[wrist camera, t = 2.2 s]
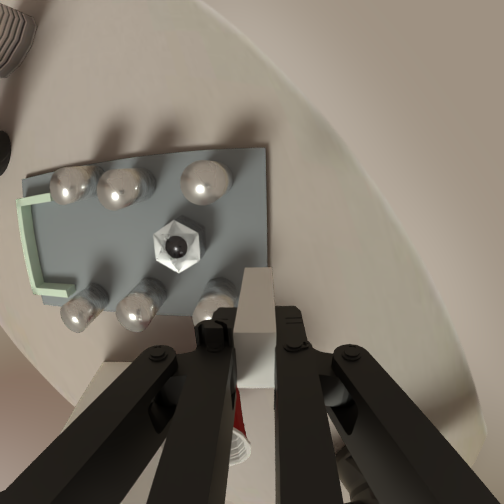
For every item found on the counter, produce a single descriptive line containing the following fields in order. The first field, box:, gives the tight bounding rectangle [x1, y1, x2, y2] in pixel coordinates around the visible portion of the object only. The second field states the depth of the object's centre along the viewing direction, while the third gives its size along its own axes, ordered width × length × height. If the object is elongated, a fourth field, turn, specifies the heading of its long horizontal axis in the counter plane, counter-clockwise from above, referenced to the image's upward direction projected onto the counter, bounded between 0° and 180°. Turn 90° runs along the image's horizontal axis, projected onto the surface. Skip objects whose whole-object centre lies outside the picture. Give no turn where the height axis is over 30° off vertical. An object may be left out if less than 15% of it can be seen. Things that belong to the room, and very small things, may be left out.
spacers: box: [50, 160, 238, 333], centre depth 27 cm, size 18×20×6 cm
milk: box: [60, 362, 163, 504], centre depth 25 cm, size 12×12×26 cm
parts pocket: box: [16, 193, 76, 298], centre depth 30 cm, size 13×7×2 cm, turn 1°
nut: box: [153, 215, 206, 273], centre depth 28 cm, size 5×4×3 cm
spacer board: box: [22, 148, 267, 316], centre depth 30 cm, size 18×32×1 cm, turn 91°
